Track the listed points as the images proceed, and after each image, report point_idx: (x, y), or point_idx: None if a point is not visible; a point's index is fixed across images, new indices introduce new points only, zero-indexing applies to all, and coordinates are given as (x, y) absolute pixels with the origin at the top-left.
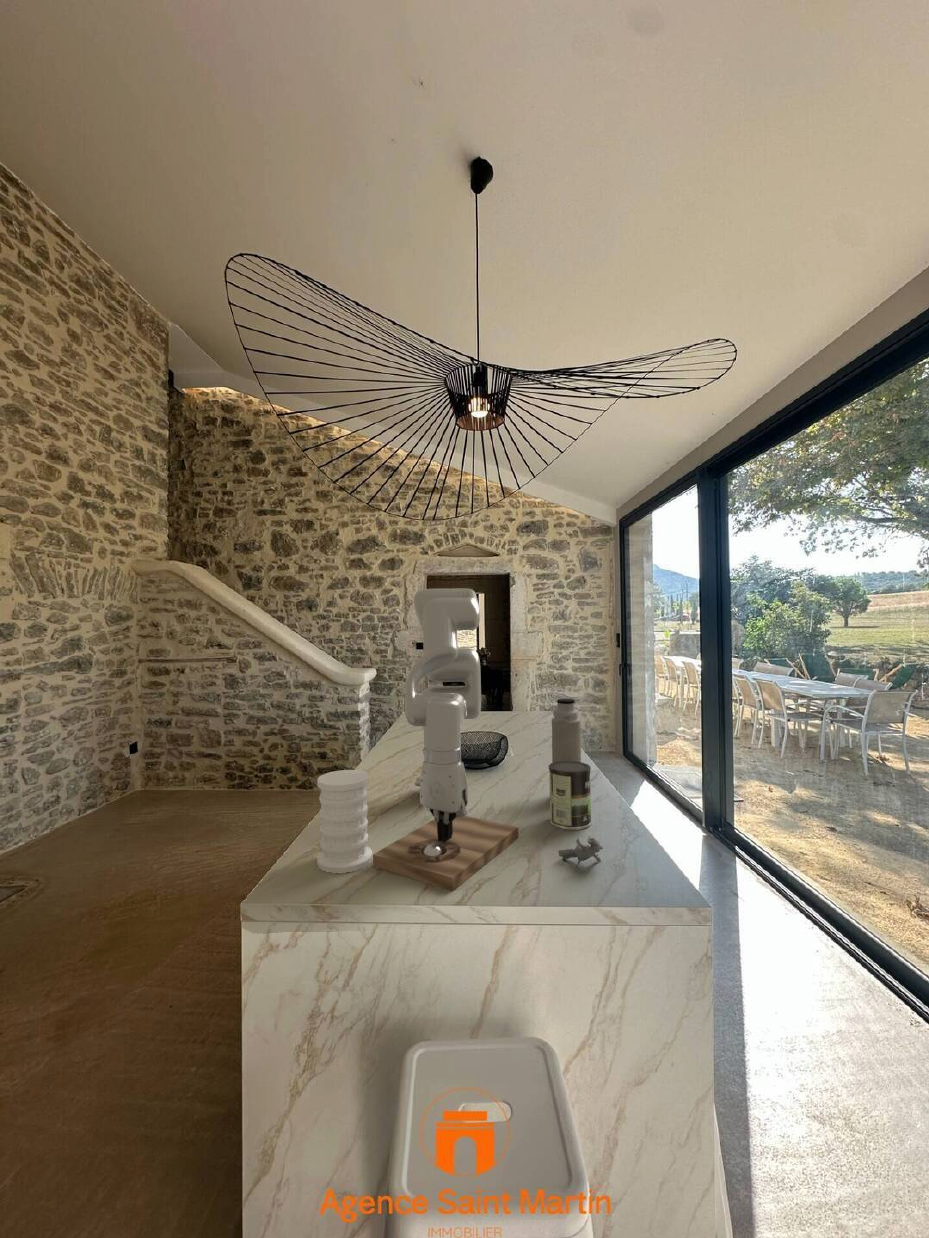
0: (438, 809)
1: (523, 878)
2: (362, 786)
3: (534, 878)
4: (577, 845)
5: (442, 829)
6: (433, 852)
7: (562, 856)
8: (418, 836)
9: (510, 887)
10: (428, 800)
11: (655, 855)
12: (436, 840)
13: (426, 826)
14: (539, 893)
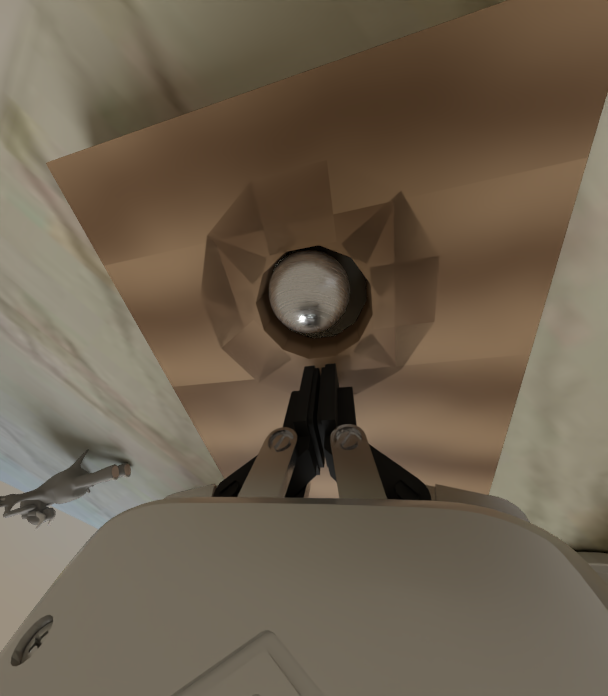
0: (275, 505)
1: (87, 368)
2: None
3: (77, 381)
4: (66, 497)
5: (305, 399)
6: (277, 276)
7: (123, 467)
8: (464, 365)
9: (56, 317)
10: (431, 628)
11: (76, 516)
12: (369, 377)
13: (485, 438)
14: (6, 335)
